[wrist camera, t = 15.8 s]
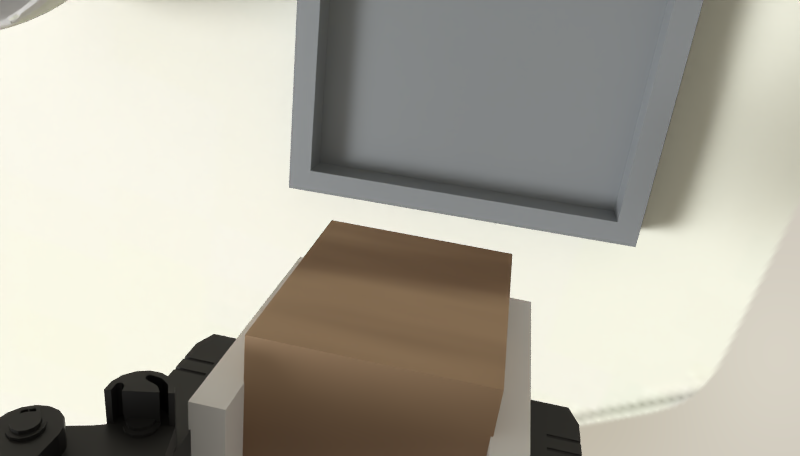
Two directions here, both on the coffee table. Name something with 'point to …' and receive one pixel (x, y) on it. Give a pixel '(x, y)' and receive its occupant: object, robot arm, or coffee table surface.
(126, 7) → the coffee table surface
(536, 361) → the coffee table surface
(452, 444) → the walnut block
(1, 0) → the teacup
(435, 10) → the tray
